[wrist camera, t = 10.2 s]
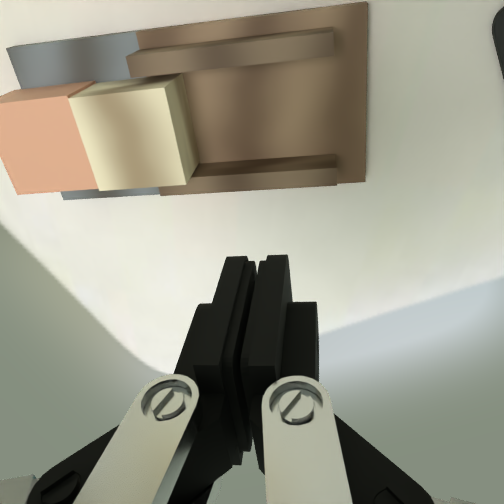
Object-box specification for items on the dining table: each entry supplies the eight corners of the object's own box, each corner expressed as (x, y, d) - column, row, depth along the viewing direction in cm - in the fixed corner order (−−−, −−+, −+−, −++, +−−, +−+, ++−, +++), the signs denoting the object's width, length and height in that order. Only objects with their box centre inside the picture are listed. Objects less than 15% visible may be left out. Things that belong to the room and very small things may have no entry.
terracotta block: (95, 80, 30) (66, 95, 26) (120, 165, 33) (98, 188, 30) (14, 90, 31) (-23, 105, 28) (46, 171, 34) (17, 194, 31)
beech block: (182, 72, 29) (164, 87, 26) (200, 161, 32) (186, 184, 29) (95, 83, 30) (67, 98, 27) (121, 167, 33) (99, 191, 30)
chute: (366, 1, 26) (371, 6, 23) (364, 176, 32) (368, 197, 29) (14, 45, 30) (-18, 55, 27) (69, 194, 36) (47, 215, 33)
